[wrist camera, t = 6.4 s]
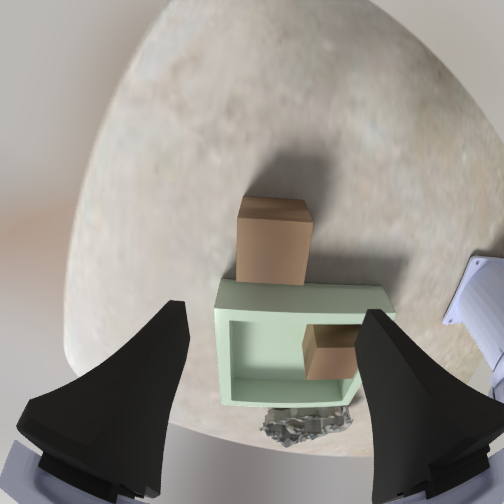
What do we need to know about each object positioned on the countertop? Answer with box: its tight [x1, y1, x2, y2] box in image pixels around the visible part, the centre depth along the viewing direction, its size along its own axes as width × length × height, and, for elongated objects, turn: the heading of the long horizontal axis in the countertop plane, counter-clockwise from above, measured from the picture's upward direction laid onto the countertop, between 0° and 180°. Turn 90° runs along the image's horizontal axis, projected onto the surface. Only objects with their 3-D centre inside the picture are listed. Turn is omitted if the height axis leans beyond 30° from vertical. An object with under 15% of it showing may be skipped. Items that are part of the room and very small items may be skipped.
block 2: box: [302, 324, 361, 380], centre depth 20 cm, size 4×4×4 cm
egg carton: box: [259, 405, 353, 448], centre depth 29 cm, size 11×8×4 cm
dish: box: [214, 279, 396, 408], centre depth 22 cm, size 13×13×4 cm
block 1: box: [236, 196, 313, 285], centre depth 17 cm, size 4×4×4 cm
